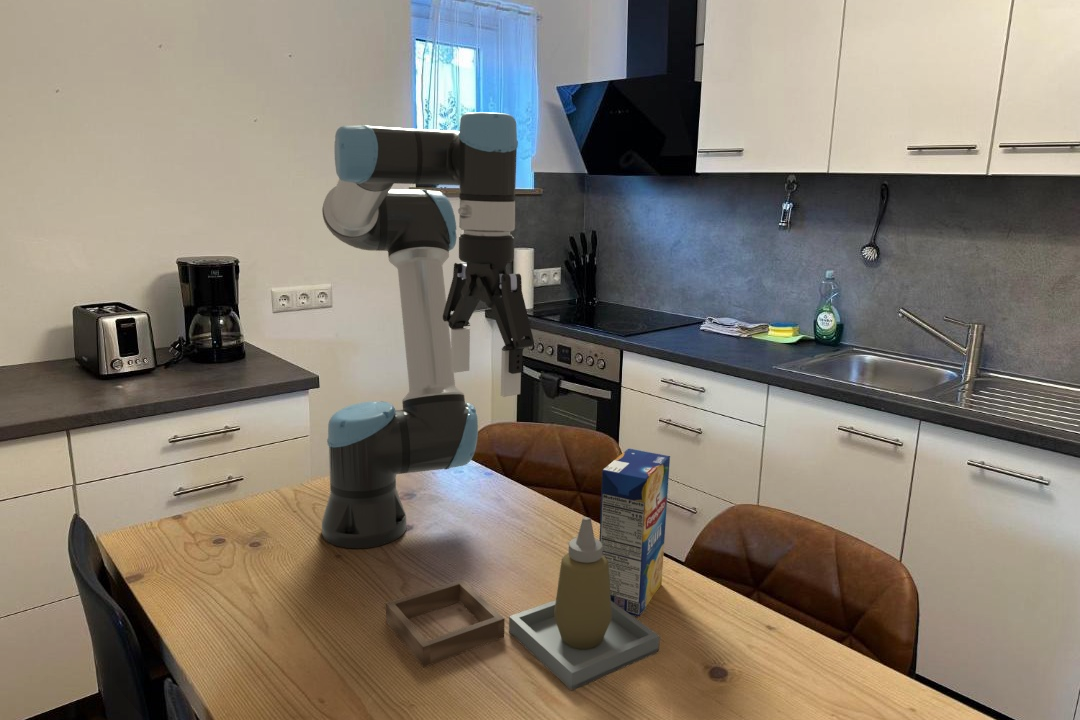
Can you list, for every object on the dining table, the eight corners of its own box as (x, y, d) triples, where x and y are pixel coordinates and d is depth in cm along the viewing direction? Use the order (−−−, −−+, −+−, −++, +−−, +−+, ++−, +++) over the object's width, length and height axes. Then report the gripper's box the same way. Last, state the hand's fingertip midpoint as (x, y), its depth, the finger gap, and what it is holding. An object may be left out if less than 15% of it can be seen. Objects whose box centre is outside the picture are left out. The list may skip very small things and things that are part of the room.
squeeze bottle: (548, 650, 100) (551, 528, 96) (558, 618, 108) (562, 504, 104) (607, 659, 98) (613, 535, 94) (613, 625, 106) (619, 510, 102)
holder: (386, 621, 107) (385, 602, 106) (462, 597, 114) (462, 579, 113) (423, 667, 97) (423, 647, 96) (504, 637, 104) (504, 618, 103)
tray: (508, 631, 105) (509, 616, 104) (591, 601, 113) (592, 587, 113) (571, 690, 93) (572, 673, 92) (658, 651, 101) (659, 635, 101)
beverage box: (596, 605, 112) (602, 470, 108) (622, 573, 122) (628, 448, 117) (638, 617, 109) (646, 479, 105) (661, 584, 119) (670, 456, 114)
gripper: (419, 225, 107) (420, 365, 113) (515, 242, 88) (510, 410, 93) (464, 224, 112) (462, 359, 117) (564, 240, 92) (557, 401, 98)
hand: (484, 382), depth 105 cm, fingers open, 13 cm apart
